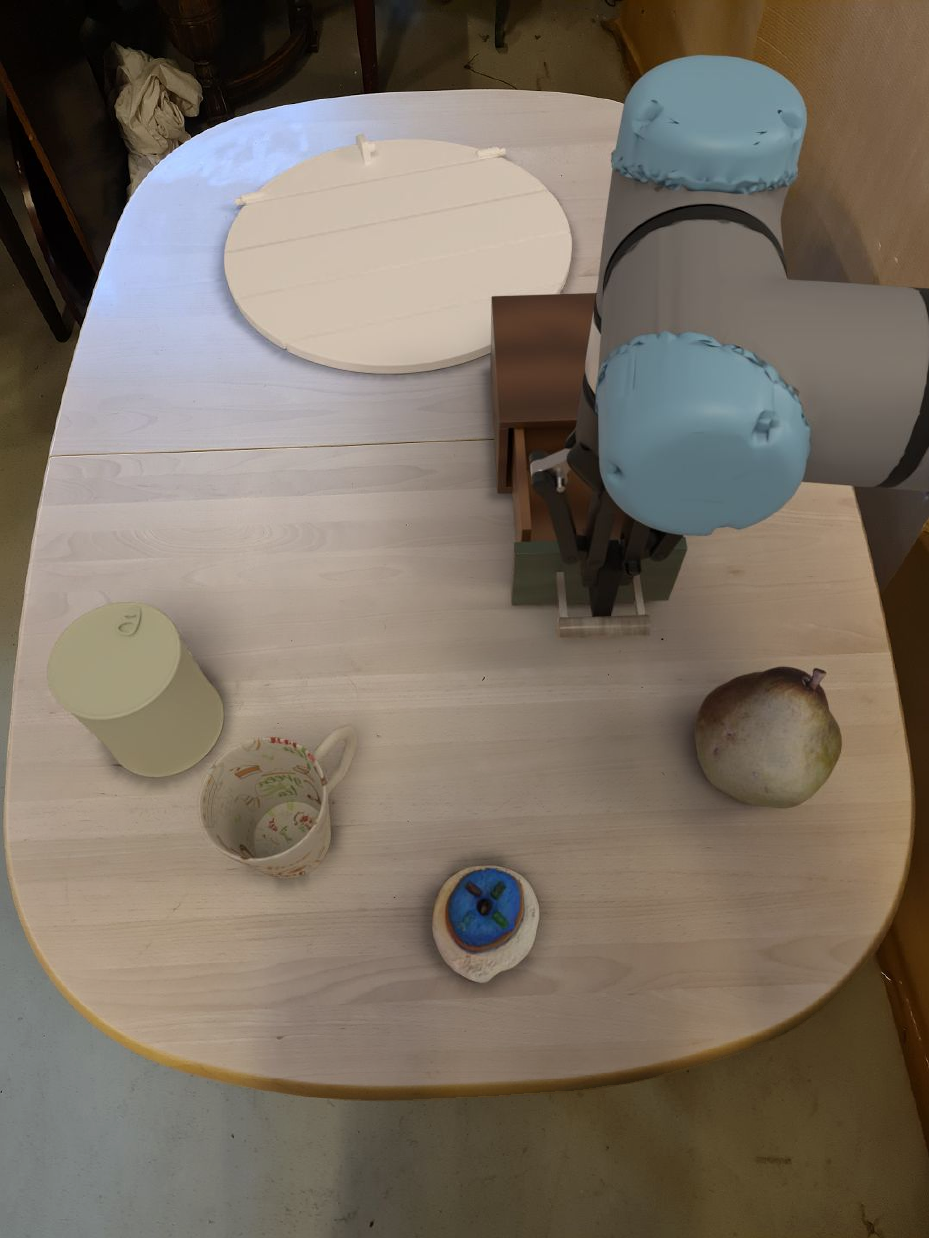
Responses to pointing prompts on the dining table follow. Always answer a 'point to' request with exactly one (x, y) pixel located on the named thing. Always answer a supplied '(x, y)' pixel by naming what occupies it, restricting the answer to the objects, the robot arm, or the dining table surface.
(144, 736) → the can
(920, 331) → the robot arm
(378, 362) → the lazy susan
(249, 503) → the dining table surface
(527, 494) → the drawer
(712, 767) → the fruit
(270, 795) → the mug
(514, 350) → the cabinet
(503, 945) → the dessert
